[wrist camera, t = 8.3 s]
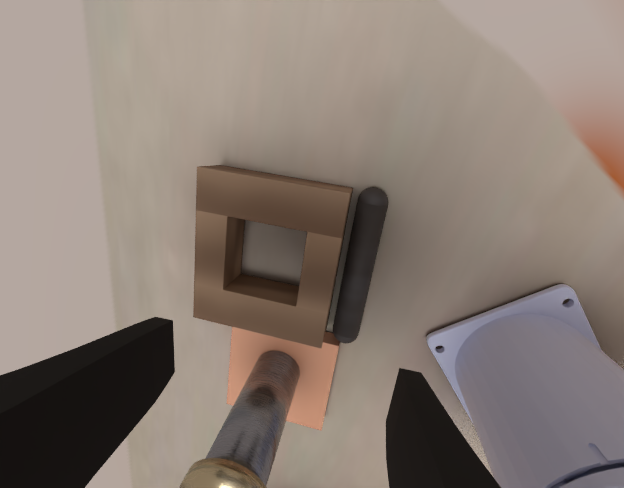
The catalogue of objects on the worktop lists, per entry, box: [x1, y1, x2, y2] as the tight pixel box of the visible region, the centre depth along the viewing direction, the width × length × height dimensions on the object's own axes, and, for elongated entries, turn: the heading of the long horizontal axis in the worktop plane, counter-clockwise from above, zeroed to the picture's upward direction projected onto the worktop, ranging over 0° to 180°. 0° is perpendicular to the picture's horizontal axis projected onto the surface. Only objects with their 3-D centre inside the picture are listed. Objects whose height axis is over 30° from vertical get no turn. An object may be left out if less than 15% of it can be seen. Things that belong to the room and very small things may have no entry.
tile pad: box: [227, 327, 340, 430], centre depth 20 cm, size 7×7×1 cm
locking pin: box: [180, 351, 300, 488], centre depth 16 cm, size 4×4×8 cm
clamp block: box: [193, 165, 388, 348], centre depth 17 cm, size 10×10×2 cm
